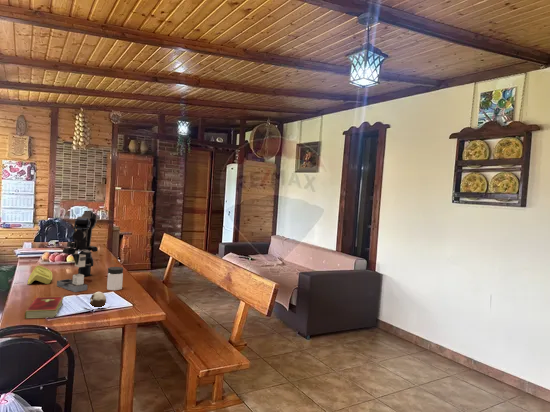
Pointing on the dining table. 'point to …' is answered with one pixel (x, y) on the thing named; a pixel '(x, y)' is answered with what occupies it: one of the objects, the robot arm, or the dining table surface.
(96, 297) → the skull
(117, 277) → the jar
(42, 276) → the plastic component
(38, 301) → the hardcover book
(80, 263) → the beige rectangular block
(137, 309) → the dining table surface
